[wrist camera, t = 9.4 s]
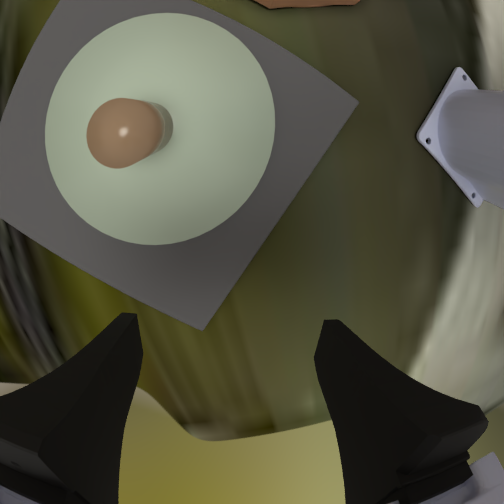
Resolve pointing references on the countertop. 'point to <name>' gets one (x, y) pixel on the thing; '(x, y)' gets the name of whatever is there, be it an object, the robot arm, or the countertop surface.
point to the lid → (160, 128)
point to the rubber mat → (181, 253)
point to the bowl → (304, 3)
